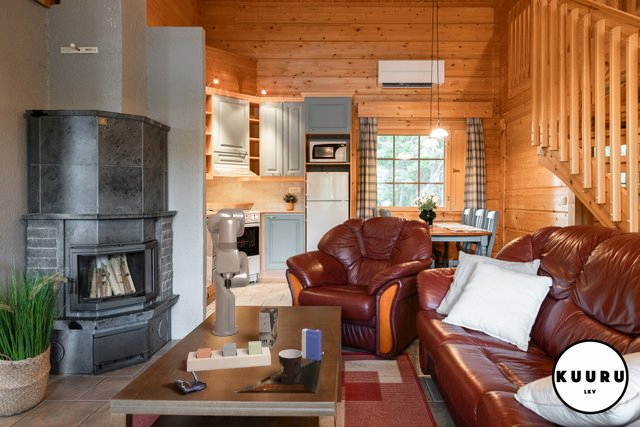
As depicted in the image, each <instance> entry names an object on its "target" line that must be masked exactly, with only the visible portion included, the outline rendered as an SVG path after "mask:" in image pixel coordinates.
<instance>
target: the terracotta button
mask: <svg viewBox="0 0 640 427" xmlns="http://www.w3.org/2000/svg"><path fill="white" fill-rule="evenodd" d="M211 351H212V349H211V347H207V348H205V347H204V348H197V351H196V352H197V359H198V358H211Z"/></svg>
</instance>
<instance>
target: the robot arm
mask: <svg viewBox="0 0 640 427" xmlns="http://www.w3.org/2000/svg"><path fill="white" fill-rule="evenodd" d="M245 223H246V214H245V211H244V210H243V209H241V208H221V209H219V210H218V211H217V212H216V213H212V214H210V215H209V216H208V217H207V221H206V227H207V231H208V233H209V234H210V239H211V241H212V244H213V247H214V248H215V271H214V273H213V283H214V296H215V300H214V301H215V303H214V304H215V321H214V322H212V323H211V326H213V327H214V328H213V329H212V335H214V336H217V337H228V336H229V337H230V336H234V335H236V334H238V333H239V327H236V296H235V294H234V292H233V291H232V290H231V289H232V288H233V289H235V288H236V289H238V288H246V287H247V286H249V285H250V282H251V281H250V280H251V278H250V277H251V276H250V268H249V259H248V255H247V253H246V252H244V251H239V248H238V247H237V246H238V245H237V244H238V243H237V240H238V239H237V238H238V237H239V238H240V237H242V236H243V235H244V232H245V225H246V224H245Z"/></svg>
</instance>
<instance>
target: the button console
mask: <svg viewBox="0 0 640 427" xmlns="http://www.w3.org/2000/svg"><path fill="white" fill-rule="evenodd" d="M271 354H272V353H271V349H269V347H262V354H255V355H249V354H248V347H246V348H236V356H226V357H223V349H217V350H211V358H198V359H197V351H189V352H188V356H187V360H186V371H187V373H189V372H191V371H192V370H193V371H194V372H198V371H201V372H202V371H212V370H225V369H237V368H238V369H239V368H240V369H241V368H251V367H262V366H263V367H265V366H272V355H271ZM188 371H189V372H188Z"/></svg>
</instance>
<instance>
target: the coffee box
mask: <svg viewBox="0 0 640 427" xmlns="http://www.w3.org/2000/svg"><path fill="white" fill-rule="evenodd" d="M278 312H279V308H278V307H264V308H263V309H262V310H260V311H259V312H258V341H261V345H262V347H269V350H273V348H275V346H277V344H278V343H279V324H278V323H279V313H278Z"/></svg>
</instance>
